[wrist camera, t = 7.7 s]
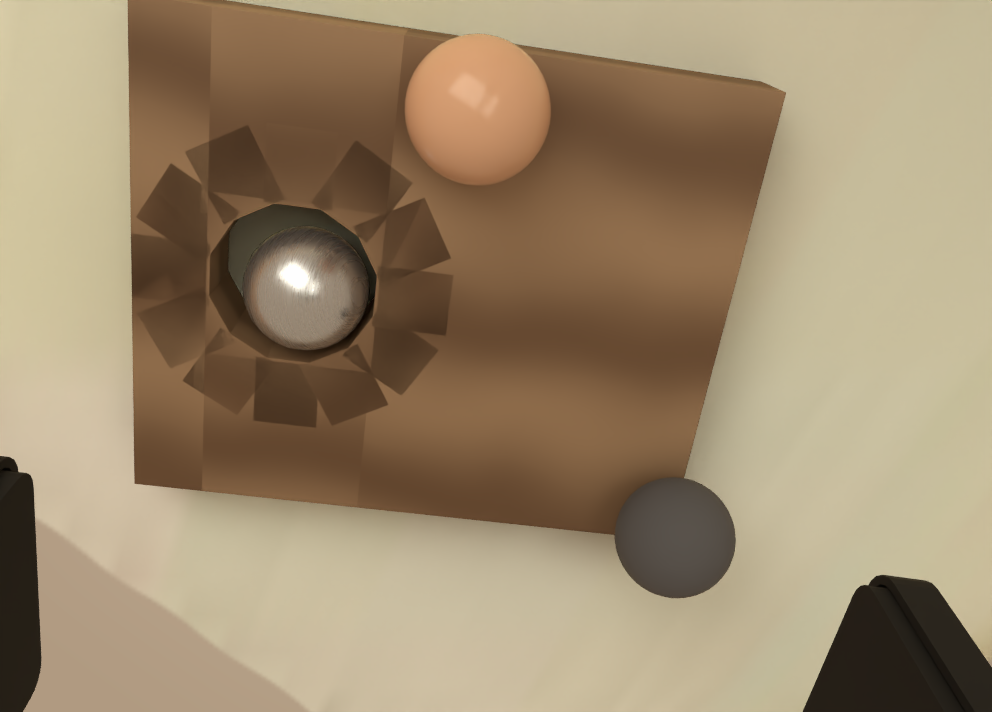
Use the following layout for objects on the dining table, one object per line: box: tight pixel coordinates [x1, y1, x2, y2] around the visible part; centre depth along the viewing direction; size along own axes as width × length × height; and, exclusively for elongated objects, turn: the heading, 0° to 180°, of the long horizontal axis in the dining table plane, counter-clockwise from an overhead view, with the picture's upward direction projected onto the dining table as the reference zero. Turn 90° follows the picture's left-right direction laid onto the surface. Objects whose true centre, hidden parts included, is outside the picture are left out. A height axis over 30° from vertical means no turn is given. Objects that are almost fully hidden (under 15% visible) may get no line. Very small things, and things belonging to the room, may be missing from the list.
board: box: [128, 0, 786, 535], centre depth 31 cm, size 16×19×2 cm
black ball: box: [615, 477, 736, 598], centre depth 31 cm, size 4×4×4 cm
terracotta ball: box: [405, 34, 551, 186], centre depth 25 cm, size 4×4×4 cm
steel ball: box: [243, 226, 369, 350], centre depth 30 cm, size 4×4×4 cm
